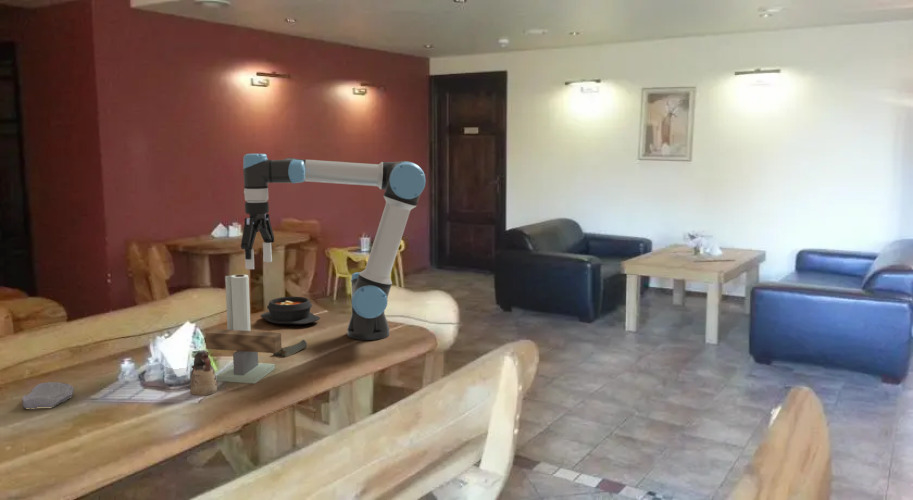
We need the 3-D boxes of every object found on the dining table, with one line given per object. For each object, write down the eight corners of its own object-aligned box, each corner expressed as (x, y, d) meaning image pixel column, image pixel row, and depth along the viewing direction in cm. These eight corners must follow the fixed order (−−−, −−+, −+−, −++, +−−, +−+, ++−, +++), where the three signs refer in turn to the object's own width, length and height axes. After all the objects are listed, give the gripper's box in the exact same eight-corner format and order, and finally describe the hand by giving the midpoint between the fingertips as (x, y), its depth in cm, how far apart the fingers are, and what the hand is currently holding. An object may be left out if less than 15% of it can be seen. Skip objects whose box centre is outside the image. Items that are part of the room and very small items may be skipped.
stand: (274, 368, 229) (274, 343, 228) (254, 383, 215) (253, 357, 214) (238, 366, 231) (237, 341, 230) (216, 380, 218) (215, 354, 216)
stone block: (76, 400, 207) (38, 394, 205) (78, 384, 206) (40, 378, 204) (59, 417, 195) (18, 411, 194) (61, 400, 194) (20, 394, 193)
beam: (281, 348, 222) (281, 332, 222) (275, 353, 218) (274, 336, 217) (213, 344, 226) (212, 328, 225) (206, 348, 222) (205, 332, 221)
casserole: (330, 321, 287) (330, 300, 286) (296, 332, 271) (296, 309, 270) (284, 312, 300) (283, 292, 299) (249, 322, 284) (248, 301, 283)
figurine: (210, 385, 214) (208, 345, 212) (222, 391, 209) (220, 350, 207) (186, 391, 209) (184, 350, 207) (197, 397, 204) (195, 355, 202)
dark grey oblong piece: (281, 358, 240) (281, 348, 239) (272, 356, 243) (272, 345, 242) (313, 351, 249) (313, 340, 249) (304, 348, 253) (304, 338, 252)
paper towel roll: (254, 332, 270) (252, 274, 266) (241, 336, 265) (238, 277, 261) (240, 329, 274) (238, 272, 270) (227, 333, 268) (225, 275, 265)
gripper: (262, 197, 255) (264, 258, 258) (227, 204, 230) (230, 271, 234) (282, 198, 253) (284, 259, 257) (250, 205, 229) (253, 272, 232)
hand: (259, 265), depth 245 cm, fingers open, 13 cm apart
